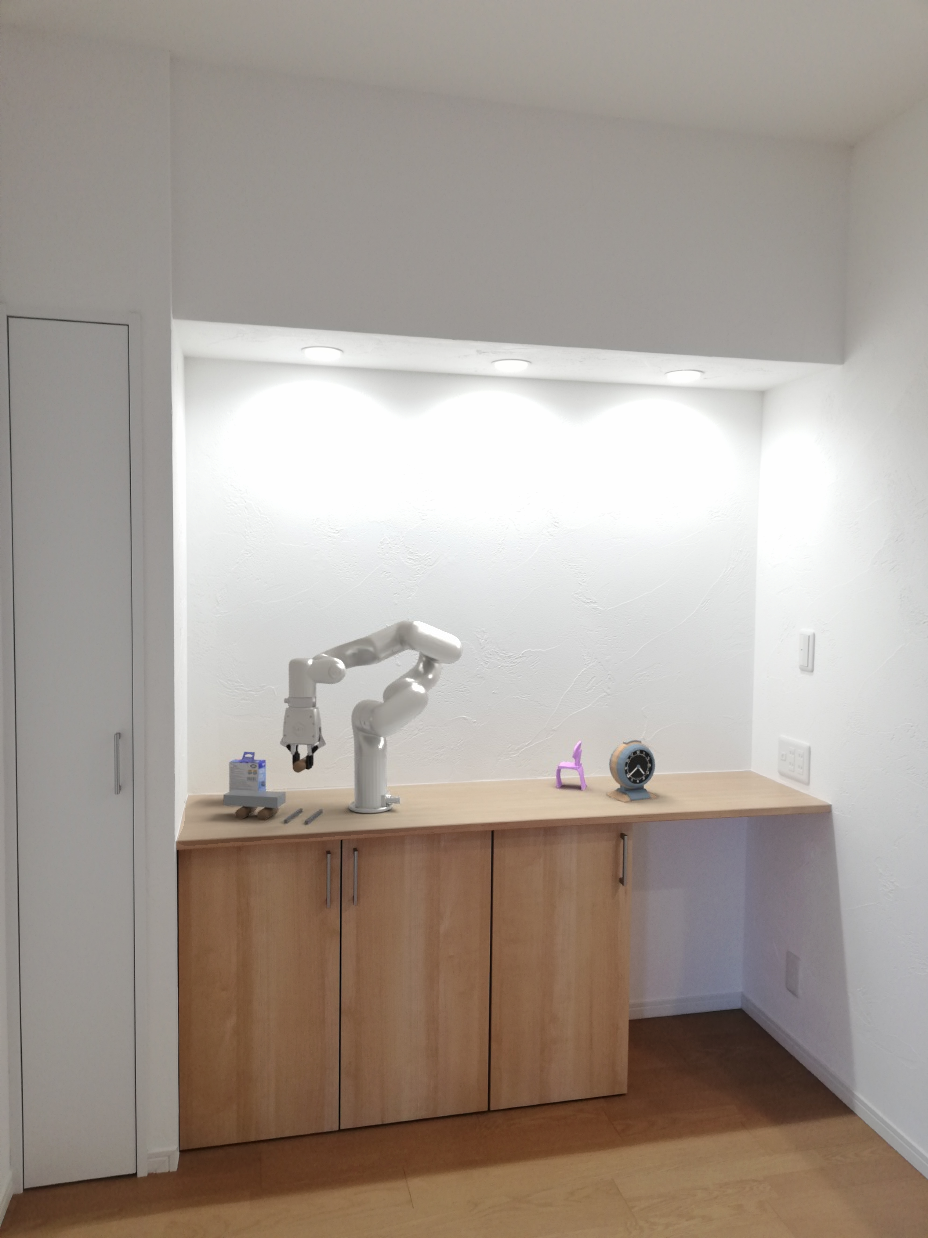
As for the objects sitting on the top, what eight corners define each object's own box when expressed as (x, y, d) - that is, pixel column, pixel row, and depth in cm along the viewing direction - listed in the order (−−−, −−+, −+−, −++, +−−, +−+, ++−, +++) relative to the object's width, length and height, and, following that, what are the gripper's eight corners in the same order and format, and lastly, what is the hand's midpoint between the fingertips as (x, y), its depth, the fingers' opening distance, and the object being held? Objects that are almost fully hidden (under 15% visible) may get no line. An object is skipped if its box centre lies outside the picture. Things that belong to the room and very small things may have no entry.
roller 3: (303, 772, 241) (302, 762, 241) (292, 772, 242) (292, 761, 242) (313, 766, 249) (312, 756, 249) (303, 766, 250) (302, 756, 249)
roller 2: (280, 808, 251) (273, 800, 252) (269, 816, 244) (262, 807, 244) (273, 815, 252) (266, 807, 252) (261, 823, 244) (255, 814, 244)
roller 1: (250, 814, 253) (258, 808, 253) (238, 821, 245) (247, 816, 245) (245, 805, 253) (253, 799, 253) (233, 812, 245) (241, 807, 245)
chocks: (322, 812, 251) (322, 809, 251) (307, 824, 240) (307, 820, 239) (300, 811, 253) (299, 808, 252) (284, 823, 241) (284, 819, 241)
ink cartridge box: (267, 799, 267) (266, 751, 266) (259, 803, 262) (258, 755, 261) (236, 797, 269) (236, 750, 268) (228, 802, 264) (227, 754, 263)
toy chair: (560, 783, 287) (561, 737, 287) (587, 785, 284) (587, 739, 284) (554, 789, 280) (554, 742, 279) (581, 791, 277) (582, 744, 276)
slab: (285, 802, 250) (285, 792, 250) (277, 808, 244) (277, 797, 244) (232, 800, 253) (232, 789, 253) (223, 805, 247) (223, 794, 247)
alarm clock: (621, 802, 262) (621, 744, 262) (603, 795, 271) (603, 738, 271) (660, 798, 268) (661, 740, 267) (641, 790, 277) (642, 735, 276)
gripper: (269, 703, 242) (270, 770, 243) (326, 705, 239) (326, 772, 240) (280, 700, 250) (280, 764, 250) (335, 701, 247) (335, 766, 248)
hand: (303, 767), depth 245 cm, fingers closed on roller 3, 3 cm apart
